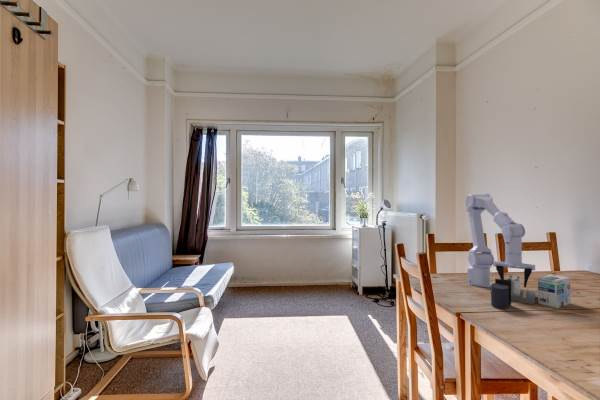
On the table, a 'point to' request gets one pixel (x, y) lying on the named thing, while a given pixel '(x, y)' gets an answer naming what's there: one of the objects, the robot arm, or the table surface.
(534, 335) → the table surface
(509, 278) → the block
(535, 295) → the mat
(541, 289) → the light bulb box
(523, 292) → the stand
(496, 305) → the speaker
